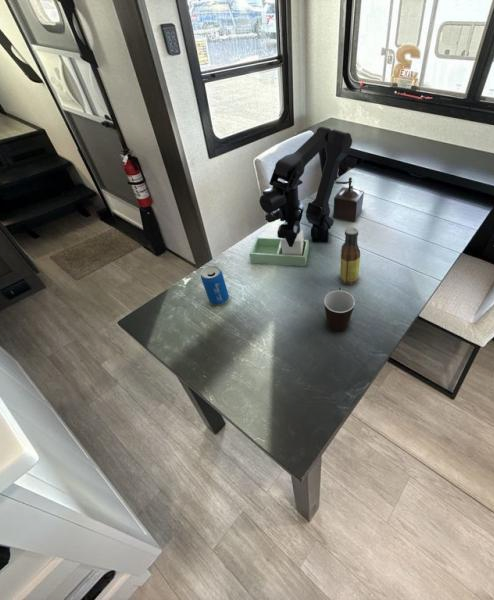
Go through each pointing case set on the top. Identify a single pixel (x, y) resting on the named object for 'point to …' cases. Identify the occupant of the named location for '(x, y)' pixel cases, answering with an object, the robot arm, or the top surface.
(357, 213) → the coffee grinder
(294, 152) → the robot arm
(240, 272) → the top surface
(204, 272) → the beverage can
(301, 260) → the green divided tray
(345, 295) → the coffee mug
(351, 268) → the sauce bottle
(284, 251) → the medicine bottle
